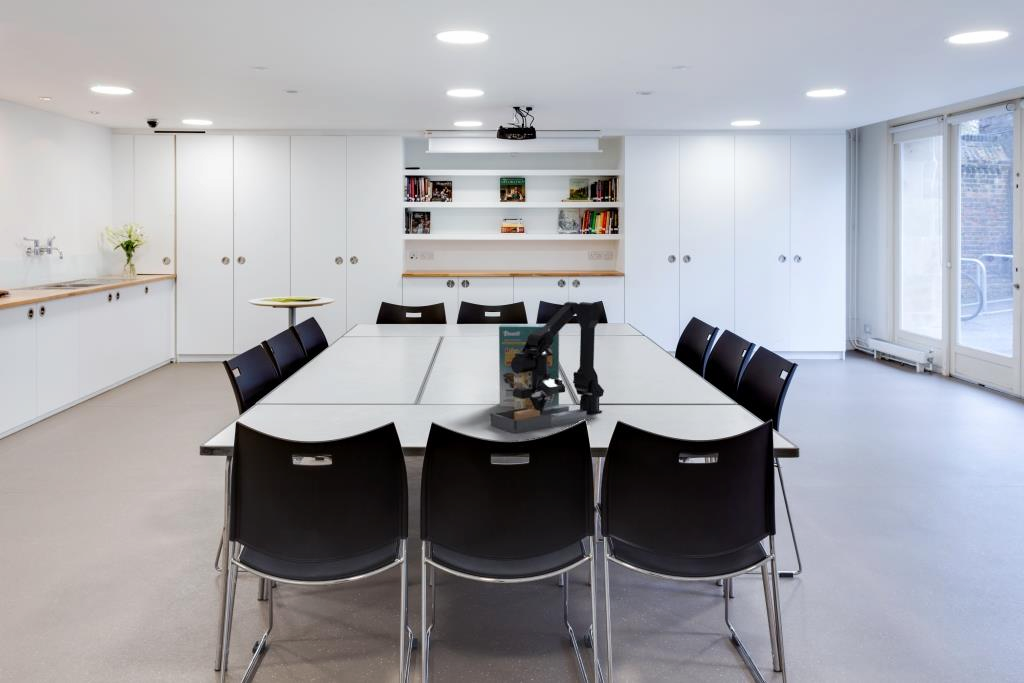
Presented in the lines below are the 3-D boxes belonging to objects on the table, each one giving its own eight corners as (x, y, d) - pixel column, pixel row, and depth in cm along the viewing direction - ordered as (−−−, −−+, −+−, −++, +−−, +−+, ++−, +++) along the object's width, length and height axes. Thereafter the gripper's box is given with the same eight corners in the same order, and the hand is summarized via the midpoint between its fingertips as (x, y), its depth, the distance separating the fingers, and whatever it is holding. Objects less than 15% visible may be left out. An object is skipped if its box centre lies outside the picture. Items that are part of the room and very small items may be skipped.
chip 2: (533, 418, 289) (533, 408, 289) (540, 420, 286) (540, 410, 286) (523, 420, 287) (523, 410, 286) (530, 422, 284) (530, 412, 283)
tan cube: (523, 420, 287) (523, 410, 286) (530, 422, 284) (530, 412, 283) (514, 422, 285) (514, 412, 284) (521, 424, 282) (520, 414, 281)
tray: (526, 419, 294) (526, 407, 293) (551, 426, 283) (551, 414, 282) (490, 425, 285) (490, 413, 285) (515, 433, 274) (514, 421, 274)
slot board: (561, 413, 303) (561, 404, 303) (587, 420, 292) (587, 411, 292) (526, 419, 294) (526, 410, 294) (551, 426, 283) (551, 417, 282)
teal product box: (558, 403, 319) (559, 325, 315) (558, 407, 313) (558, 327, 309) (501, 402, 321) (500, 324, 317) (499, 406, 315) (499, 326, 311)
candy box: (523, 412, 305) (523, 370, 303) (513, 411, 307) (513, 369, 305) (535, 407, 312) (535, 366, 310) (525, 406, 315) (525, 366, 312)
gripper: (531, 376, 274) (532, 423, 276) (575, 370, 285) (575, 415, 287) (511, 371, 283) (512, 417, 285) (554, 365, 294) (555, 409, 296)
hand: (539, 414), depth 288 cm, fingers closed
